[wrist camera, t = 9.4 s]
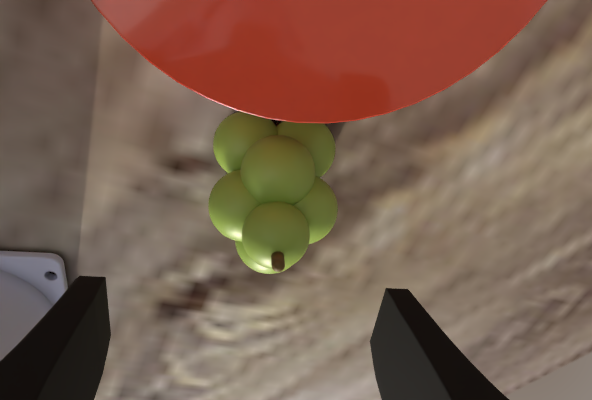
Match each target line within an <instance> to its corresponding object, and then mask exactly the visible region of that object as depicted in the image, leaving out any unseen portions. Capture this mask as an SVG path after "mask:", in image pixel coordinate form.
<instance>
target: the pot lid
mask: <svg viewBox="0 0 592 400" xmlns="http://www.w3.org/2000/svg"><path fill="white" fill-rule="evenodd" d="M91 1H92V3H93V4H94V6H95V7H96V8H97V10H98V11H99V12H100V13H101V14H102V15H103V16H104V17H105V19H106V20H107V21H108V22H109V23H110V24H111V25H112V27H113V28H114V29H115V30H116V31H117V32H118V33H119V35H120V36H121V37H122V38H123V39H124V40H125V41H127V42H128V43H129V44H130V45H131V46H132V47H133V48H134V49H135V50H137V51H138V52H139V53H140V54H141V55H142V56H143V57H144V58H145V59H146V60H148V61H149V62H150V63H151V64H153V65H154V66H155V67H157V68H158V69H160V70H161V71H162V72H164V73H165V74H167V75H168V76H169V77H171V78H172V79H174V80H175V81H176V82H178V83H180V84H181V85H183V86H185V87H187V88H189V89H191V90H192V91H194V92H196V93H198V94H200V95H201V96H203V97H205V98H207V99H209V100H212V101H214V102H217V103H219V104H222V105H224V106H227V107H229V108H232V109H234V110H237V111H240V112H244V113H248V114H251V115H255V116H259V117H262V118H266V119H273V120H280V121H287V122H294V123H336V122H346V121H356V120H361V119H365V118H370V117H374V116H379V115H383V114H387V113H390V112H393V111H396V110H399V109H401V108H404V107H407V106H410V105H413V104H416V103H418V102H420V101H422V100H424V99H426V98H428V97H430V96H432V95H434V94H437V93H439V92H441V91H443V90H445V89H446V88H448V87H449V86H451V85H453V84H454V83H456V82H458V81H459V80H461V79H462V78H464V77H466V76H467V75H469V74H470V73H472V72H473V71H475V70H476V69H477V68H478V67H480V66H481V65H482V64H484V63H485V62H486V61H487V60H489V59H490V58H491V57H493V56H494V55H495V54H496V53H498V52H499V51H500V50H501V49H502V48H503V47H504V46H505V45H506V44H507V43H508V42H509V41H510V40H512V39H513V38H514V37H515V36H516V35H517V34H518V33H519V32H520V31H521V30H522V29H523V28H524V27H525V26H526V25H527V24H528V23H529V21H530V20H531V19H532V18H533V17H534V16H535V14H536V13H537V12H538V11H539V10H540V9H541V7H542V6H543V5H544V4H545V3H546V1H547V0H91Z"/></svg>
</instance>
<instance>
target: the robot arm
mask: <svg viewBox="0 0 592 400" xmlns="http://www.w3.org/2000/svg"><path fill="white" fill-rule="evenodd" d="M49 271H51V272H54V273H55V275H54V274H51V273H49ZM110 336H111V332H110V321H109V310H108V299H107V289H106V278H105V277H91V276H79V277H78V278H77V279H75V280H74V282H73V283H72V284H71V285H70V287H69V288H68V285H67V279H66V272H65V266H64V261H63V259H62V258H61V257H60V256H58V255H56V254H53V253H40V252H17V251H0V400H94V398H95V395H96V392H97V389H98V386H99V383H100V380H101V377H102V374H103V370H104V365H105V361H106V356H107V351H108V346H109V341H110ZM370 344H371V351H372V358H373V365H374V370H375V376H376V380H377V384H378V388H379V391H380V395H381V398H382V400H509V399H508V398H507V397H506V396H504V395H503V394H502V393H501V392H500V391H499V390H498V389H497V388H496V387H495V386H494V385H493V384H492V383H491V382H490V381H488V379H487V378H486V377H485V376H484V375H483V374H482V373H481V372H480V371H479V370H478V369H477V368H476V367H475V366H474V365H473V364H472V363H471V362H470V361H469V360H468V359H467V358H466V357H465V356H464V355H463V353H462V352H461V351H460V350H459V349H458V348H457V347H456V346H455V345H454V343H453V342H452V341H451V340H450V339H449V338H448V337H447V335H446V334H445V333H444V332H443V331H442V330H441V328H440V327H439V326H438V325H437V324H436V322H435V321H434V320H433V319H432V318H431V316H430V315H429V314H428V313H427V312H426V310H425V309H424V308H423V307H422V306H421V304H420V303H419V302H418V301H417V299H416V298H415V297H414V296H413V295H412V293H411V292H410V291H409V290H408V289H391V288H386V290H385V293H384V297H383V300H382V303H381V307H380V310H379V313H378V317H377V320H376V323H375V327H374V330H373V333H372V337H371V340H370Z"/></svg>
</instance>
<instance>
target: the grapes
mask: <svg viewBox="0 0 592 400" xmlns="http://www.w3.org/2000/svg"><path fill="white" fill-rule="evenodd" d="M213 149H214V154H215V157H216V159H217V161H218V163H219V164H220V166H221V167H222V168H223V169H224V170H225V171H226V172H228V174H226V175H225V176H223V177H222V178H221V179H220V180H219V181H218V182H217V183H216V184H215V186H214V187H213V189H212V191H211V194H210V197H209V214H210V217H211V220H212V222H213V224H214V226H215V227H216V228H217V229H218V230H219V231H220V232H221V233H222V234H223V235H224V236H226V237H228V238H230V239H232V240H235V243H236V248H237V251H238V254H239V256H240V258H241V259H242V260H243V262H244V263H245V264H246V265H247V266H249V267H250V268H251V269H253V270H255V271H257V272H260V273H266V274H273V273H279V272H282V271H284V270H286V269H288V268H289V267H291V266H292V265H293V264H295V263H296V262H297V261H299V260H300V259H301V257H302V256H303V255H304V253H305V252H306V250H307V248H308V245H309V244H311V243H314V242H316V241H319V240H320V239H322V238H323V237H325V236H326V235H327V234H328V233H329V232H330V230H331V229H332V227H333V226H334V223H335V221H336V218H337V211H338V206H337V200H336V197H335V195H334V192H333V191H332V189H331V188H330V186H329V185H328V184H327V183H326V182H325V181H323V180H322V179H320V177H321V176H322V175H324V174H325V173H326V172H327V171H328V169H329V168H330V166H331V165H332V162H333V160H334V156H335V142H334V138H333V135H332V133H331V132H330V130H329V129H328V127H327V126H326V125H325V124H324V123H294V122H287V121H282V122H281V123H280V124H278V125H277V127H276V125H275V124H274V123H273V122H272V121H271V120H270V119H266V118H262V117H259V116H255V115H251V114H248V113H244V112H240V111H239V112H236V113H233V114H231V115H229V116H228V117H227V118H225V119H224V120H223V121H222V122H221V123H220V125H219V126H218V128H217V130H216V132H215V136H214V140H213Z"/></svg>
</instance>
